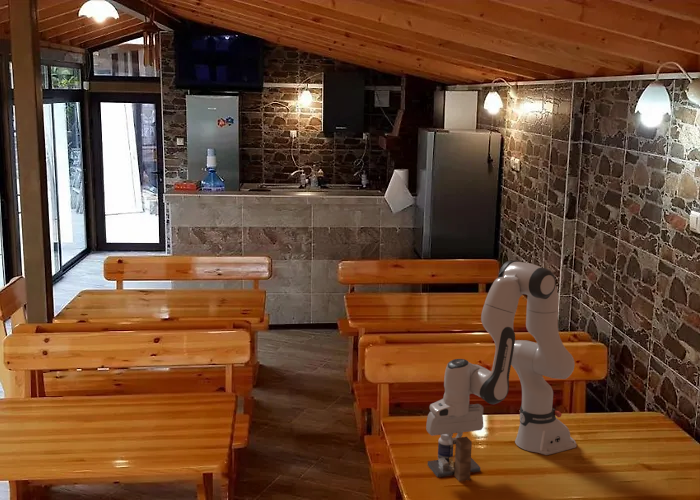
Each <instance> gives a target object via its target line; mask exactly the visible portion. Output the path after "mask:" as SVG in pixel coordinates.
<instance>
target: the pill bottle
mask: <svg viewBox="0 0 700 500" xmlns="http://www.w3.org/2000/svg"><path fill="white" fill-rule="evenodd" d="M451 437H452V438H453V436H451ZM449 440H450V438H449V437H448V435H447V434H442V435H440V437H439V438H438V440H437V441H438V443H437V446H438V447H437V460H439V458H445V459H449V457H452V456H454V444H453V445H451V444H450V442H449Z"/></svg>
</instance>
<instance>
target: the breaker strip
mask: <svg viewBox="0 0 700 500" xmlns="http://www.w3.org/2000/svg"><path fill="white" fill-rule="evenodd" d="M427 466H428V468H429V469H430V470H431V472H433V474H434V475H435V476H436V477H437V478H443V477H451V476H452V477H453V476H454V472H455V455H453V456H452V457H449V459H445V458H439V459H435V460H428V461H427ZM481 468H482V467H481V466H480V465H479V464H478V463H477V462H476V461H475V459H473V457H471V470H470V474H472V473H471V472H473V473H479V472H481Z"/></svg>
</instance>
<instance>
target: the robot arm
mask: <svg viewBox="0 0 700 500" xmlns="http://www.w3.org/2000/svg"><path fill="white" fill-rule="evenodd" d="M558 294H559V293H558V289H557V280H556V277H555V274H554V273H553V272H552V271H551V270H550V269H548V268H546V267H543V266H542V267H541V266H539V265H537V264H534V263H530V262H529V263H528V262H523V261H519V260H508V261H505V262H504V263H503V265H502V266H501V267H500V269H499V272H498V277H497V278H495V279H494V281H493V283H492V284H491V286H490V288H489V290H488V292H487V295H486V297H485V301H484V304H483V307H482V310H481V314H480V315H481V316H480V321H481V325H482V326H483V328H484V329H485V330H486V332H487V333H488V334H489V336H490V337H491V338H492V340H493V341H494V346H495V352H494V356H493V357H494V358H493V362H492V367H491V370H489V369H488V368H486V367H484V366H481V365H479V364H476V363H474V364H473V363H471V362H469V361H468V360H467V359H465V358H455V359H452V360H450V361H449V362H448V363H447V364H446V368H445V370H444V377H443V378H444V379H443V387H444V394H443V398H441V399H439V400H437V401H435V402H432V403H430V404H429V410H430V411H429V413H428V414H427V417H426V418H427V419H426V426H425V428H426V432H427V433H428V434H429V435H430V436H441V435H442V434H447V435H448V437H449V438H450V440H449V442H450V444H451V445H453V446H454V445H456V438H460V437H463V434H464V433H466V432H469V433H470V432H474V431H475V432H476V431H482V430H483V429H484V416H483V415H484V406H483V405H482V404H480V403H475V404H473V403H471V404H470V395H475V396H478V397H479V398H481V399H482V400H483V401H485V402H486V403H487V404H489V405H496V404H499V403H501V402H503V401H504V400H505V399H506V398H507V396H508V394H509V390H510V373H511V367H512V368H513V369H514V371H515V372H516V374H517V376H518V378H519V382H520V385H521V405H520V408H519V427H518V431H517V435H516V438H515V440H514V443H515V444H516V446H518V447H519V448H520V449H522V450H525V451H528V452H532V453H536V454H537V453H539V454H541V455H544V456H548V455H553V454H557V453H560V452H565V451H567V450H571V449H575V448H576V449H577V442H576V440H575V439H574V438H573V437H571V432H570V430H569V427H568V426H566V424H564V423H563V422H562V421H561V420H560V419H558V418H562V416H563V415H562V412H560V411H559V410H556V409H555V408H554V407H553V402H554V390H553V388H552V386H551V385H550V384H549V383H548V382H547V381H546V380H545V378H544V377H547V378H550V379H558V380H561V379H562V380H566V379H568V378H569V377H570V376H571V375H572V373H573V372H574V370H575V359H574V357H573V355H572V353H570V352H569V351H568V349H567V348H566V347H565V345H564V343H563V341H562V339H561V337H560V334H559V323H558V321H559V295H558ZM523 295H527V297H526V299H527V300H526V301H527V302H526V314H525V317H526V318H525V327H526V331H527V332H528V333H529V334H530V335H531V336H532V337H533V338H534V340H535V341H536V342H534V341H530V340H523V339H521V340H520V339H517V340H516V333H515V331H514V330H515V329H514V321H515V316H516V312H517V309H518V306H519V305H518V304H519V300H520V298H521V297H522V296H523ZM543 376H544V377H543ZM454 434H456V436H455V437H453V436H454ZM451 436H452V437H451Z"/></svg>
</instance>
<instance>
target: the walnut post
mask: <svg viewBox="0 0 700 500" xmlns="http://www.w3.org/2000/svg"><path fill="white" fill-rule="evenodd" d="M455 438H456V437H455ZM472 442H473V441H471V439H470V438H469V437H468V436H462V437H460V438H456V444H455V449H454V452H455V453H454V454H455V455H454V456H455V472H454V475H453V476H454V478H456V480H457V481H458V482H466V480H467V481H470V480H471V473H470V470H471V458H472V447H473V446H472V445H473V443H472Z"/></svg>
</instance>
